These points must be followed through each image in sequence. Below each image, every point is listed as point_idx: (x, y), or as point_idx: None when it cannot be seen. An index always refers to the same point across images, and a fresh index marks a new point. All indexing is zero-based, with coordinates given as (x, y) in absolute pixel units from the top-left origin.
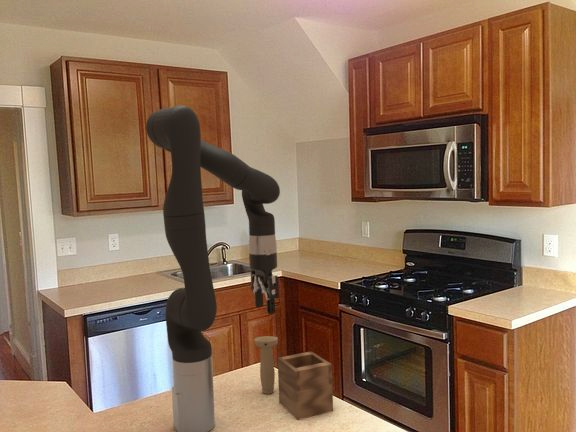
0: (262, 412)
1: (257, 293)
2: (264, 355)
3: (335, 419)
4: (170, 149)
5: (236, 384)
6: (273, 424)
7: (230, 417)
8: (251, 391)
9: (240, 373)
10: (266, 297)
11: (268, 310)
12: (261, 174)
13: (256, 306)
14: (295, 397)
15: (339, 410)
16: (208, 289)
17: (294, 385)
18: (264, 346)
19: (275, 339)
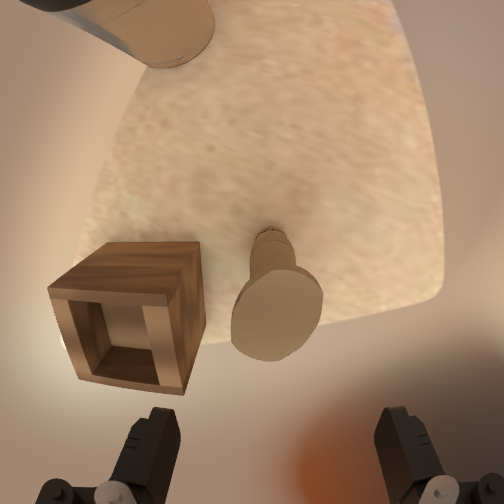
0: (166, 186)
1: (413, 493)
2: (256, 273)
3: None
4: None
5: (365, 186)
6: (106, 189)
7: (175, 107)
8: (299, 204)
9: (423, 225)
10: (108, 499)
11: (148, 425)
12: None
13: (386, 410)
14: (89, 259)
15: None
16: None
17: (78, 270)
18: (242, 288)
19: (246, 347)
